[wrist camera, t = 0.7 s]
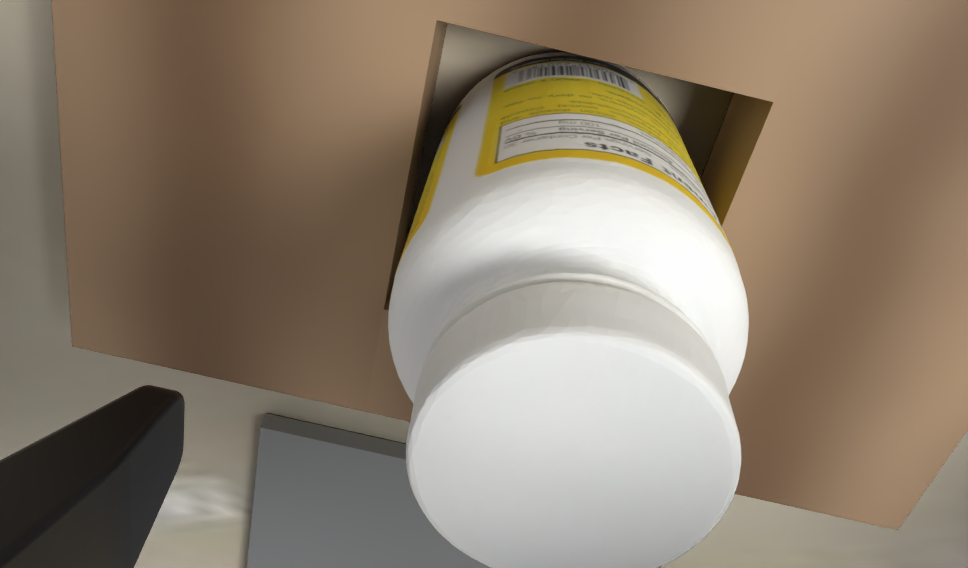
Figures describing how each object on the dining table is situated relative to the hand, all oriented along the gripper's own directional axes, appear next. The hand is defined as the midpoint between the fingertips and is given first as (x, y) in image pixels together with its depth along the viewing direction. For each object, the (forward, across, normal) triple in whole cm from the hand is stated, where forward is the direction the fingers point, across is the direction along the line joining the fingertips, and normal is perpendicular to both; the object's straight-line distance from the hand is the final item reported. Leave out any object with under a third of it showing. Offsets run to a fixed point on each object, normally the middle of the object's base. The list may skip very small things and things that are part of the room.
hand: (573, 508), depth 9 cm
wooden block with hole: (+10, 0, 0) cm, 10 cm away
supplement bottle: (+10, 0, 0) cm, 11 cm away
